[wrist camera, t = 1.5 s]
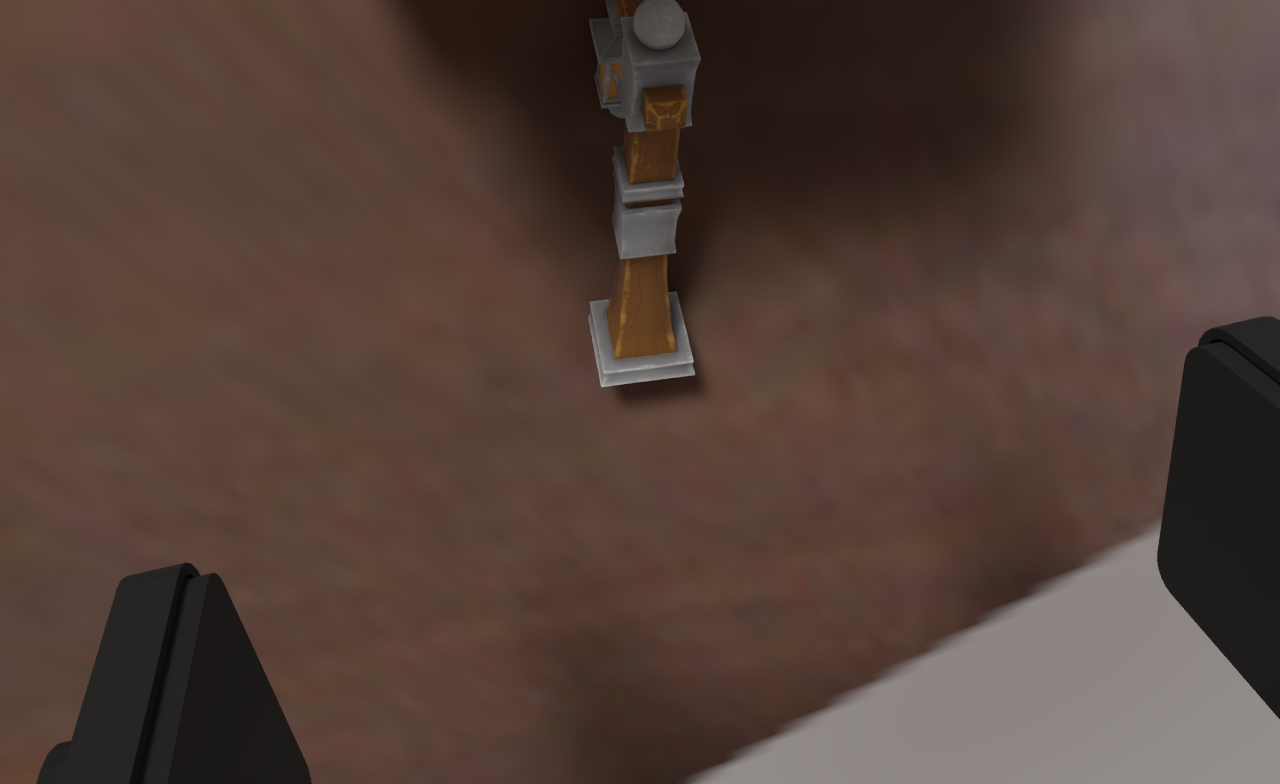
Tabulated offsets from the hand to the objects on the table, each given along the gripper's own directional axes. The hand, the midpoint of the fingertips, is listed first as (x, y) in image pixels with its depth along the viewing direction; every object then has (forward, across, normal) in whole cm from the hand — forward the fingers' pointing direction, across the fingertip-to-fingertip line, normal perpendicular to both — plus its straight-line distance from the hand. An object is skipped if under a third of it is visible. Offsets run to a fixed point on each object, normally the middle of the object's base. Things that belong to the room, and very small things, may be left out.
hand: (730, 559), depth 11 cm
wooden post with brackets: (+12, -1, 0) cm, 12 cm away
